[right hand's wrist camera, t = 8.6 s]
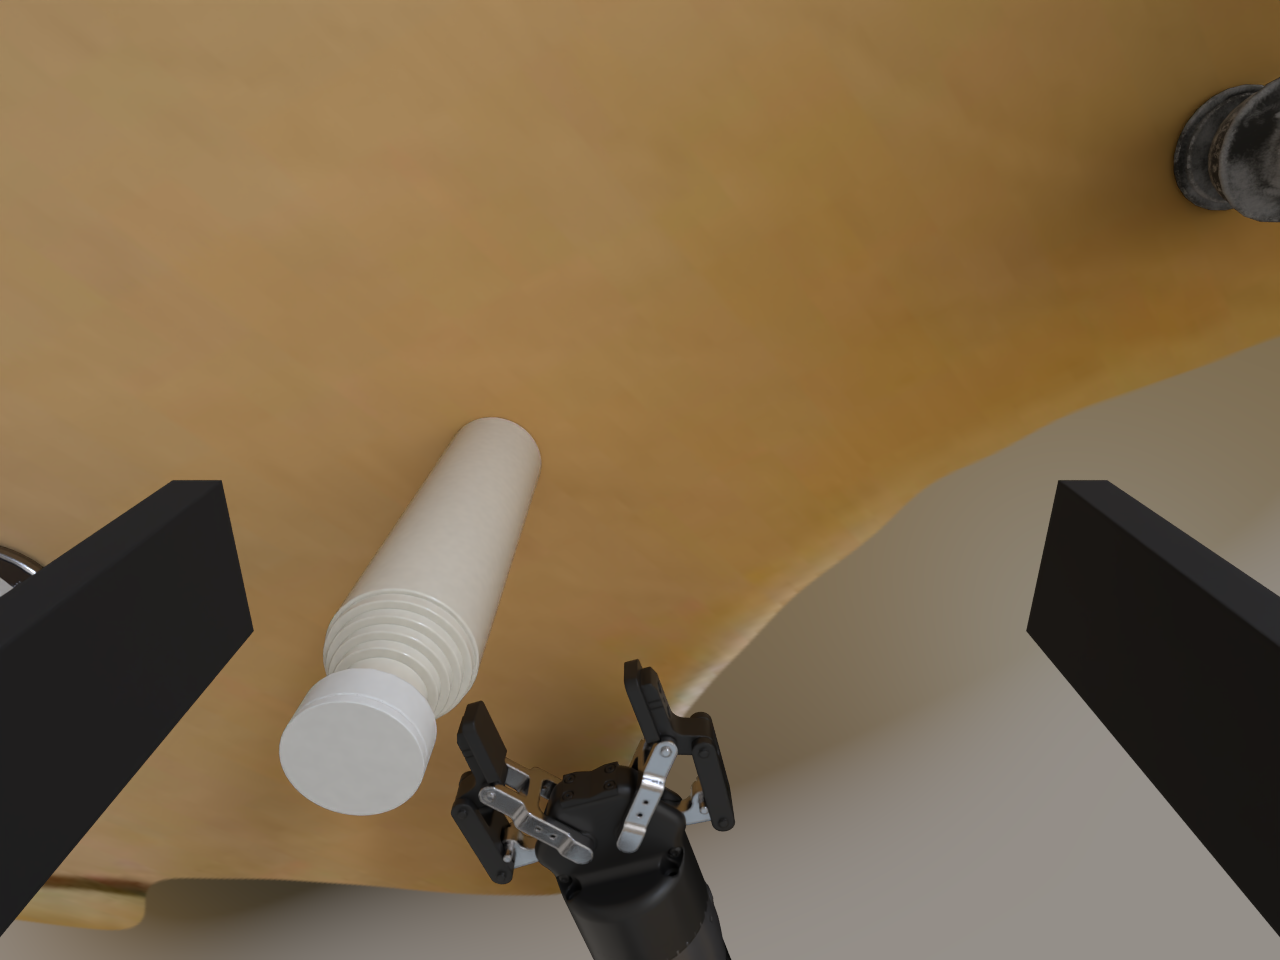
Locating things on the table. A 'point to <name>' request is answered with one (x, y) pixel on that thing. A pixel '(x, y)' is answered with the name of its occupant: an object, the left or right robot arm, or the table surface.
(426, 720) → the cap
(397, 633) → the bottle
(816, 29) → the table surface
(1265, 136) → the grey chess piece
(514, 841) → the left robot arm
